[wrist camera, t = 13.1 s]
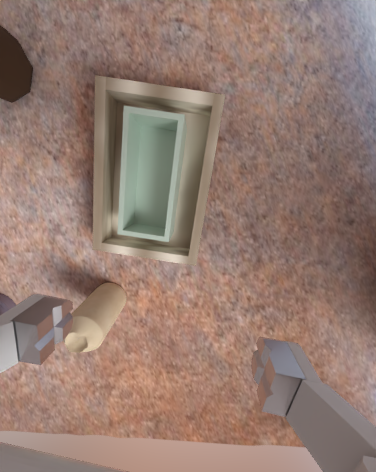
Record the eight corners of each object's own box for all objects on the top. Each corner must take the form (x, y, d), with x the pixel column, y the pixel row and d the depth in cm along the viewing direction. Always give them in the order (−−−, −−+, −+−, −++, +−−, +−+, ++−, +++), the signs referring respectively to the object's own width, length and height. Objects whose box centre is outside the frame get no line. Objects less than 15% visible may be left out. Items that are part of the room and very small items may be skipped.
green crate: (186, 128, 24) (184, 114, 19) (173, 232, 28) (168, 242, 23) (138, 121, 24) (123, 105, 19) (131, 225, 28) (117, 234, 23)
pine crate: (220, 109, 24) (225, 94, 20) (195, 255, 30) (195, 265, 26) (111, 92, 24) (94, 75, 20) (106, 241, 30) (92, 249, 26)
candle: (97, 278, 31) (53, 319, 22) (129, 286, 32) (99, 330, 22) (93, 305, 33) (50, 355, 23) (124, 313, 33) (94, 366, 23)
